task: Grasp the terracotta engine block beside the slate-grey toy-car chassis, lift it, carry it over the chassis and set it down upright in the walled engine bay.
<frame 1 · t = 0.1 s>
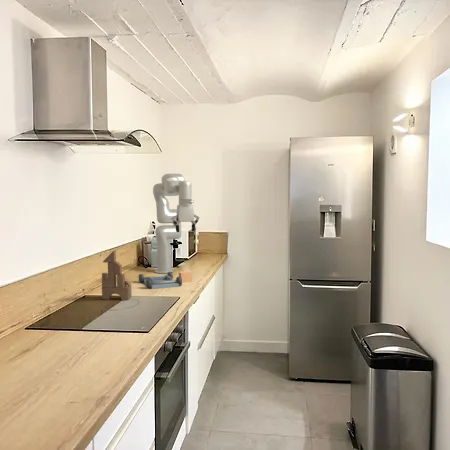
hand: (185, 231, 275), 31 cm above the worktop, fingers open, 9 cm apart
wooden toy: (115, 298, 241), on the worktop
chassis: (159, 283, 278), on the worktop
engine block: (185, 281, 285), on the worktop
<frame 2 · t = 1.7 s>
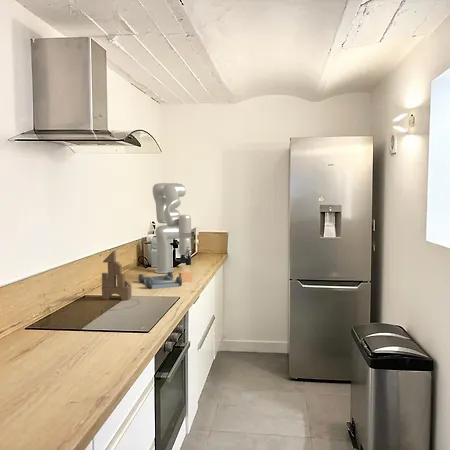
hand: (185, 264, 283), 11 cm above the worktop, fingers open, 9 cm apart
nothing on the worktop moved.
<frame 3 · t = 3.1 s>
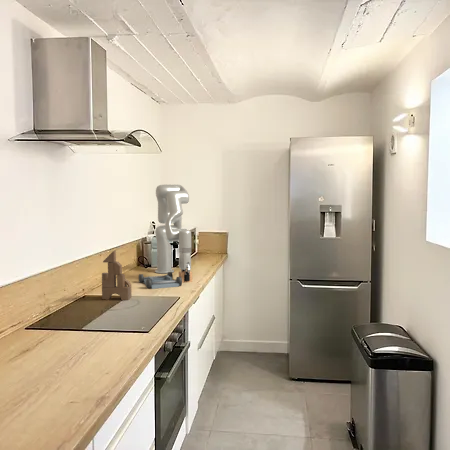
hand: (185, 280, 285), 1 cm above the worktop, fingers closed on engine block, 5 cm apart
engine block: (185, 281, 285), on the worktop, touching gripper
everything else where it was.
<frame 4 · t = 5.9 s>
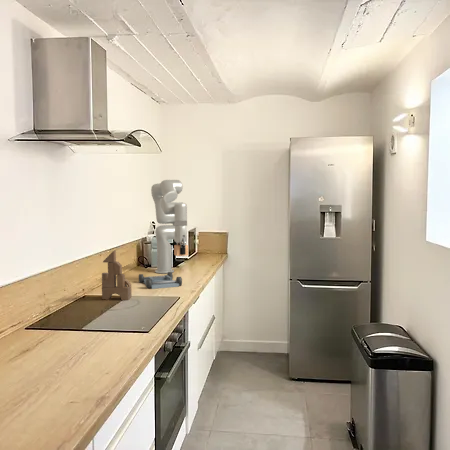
hand: (181, 253, 283), 17 cm above the worktop, fingers closed on engine block, 5 cm apart
engine block: (181, 255, 283), point 16 cm above the worktop, touching gripper
everything else where it was.
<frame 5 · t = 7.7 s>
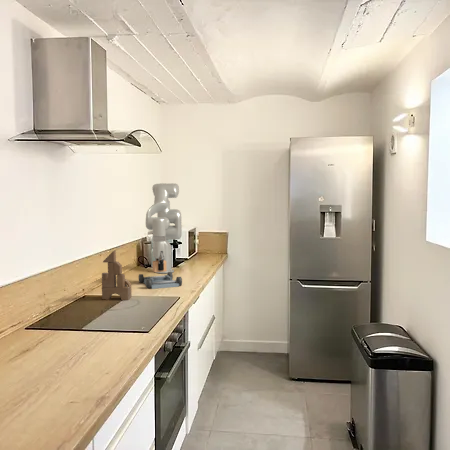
hand: (159, 269, 277), 9 cm above the worktop, fingers closed on engine block, 5 cm apart
engine block: (159, 271, 278), point 8 cm above the worktop, touching gripper
everything else where it was.
when the fingers open (4 cm above the worktop, at t = 9.0 s): engine block stays where it is, resting on chassis.
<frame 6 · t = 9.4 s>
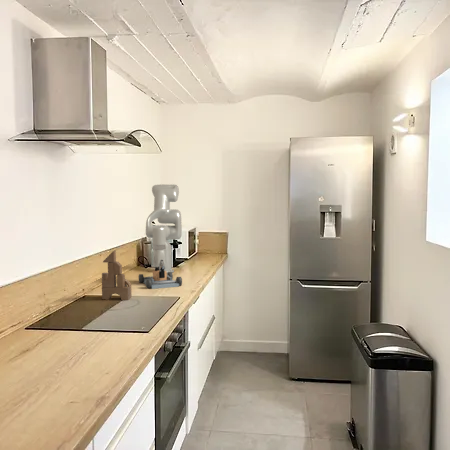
hand: (159, 276, 278), 4 cm above the worktop, fingers open, 8 cm apart
engine block: (159, 281, 278), point 1 cm above the worktop, touching chassis
everything else where it was.
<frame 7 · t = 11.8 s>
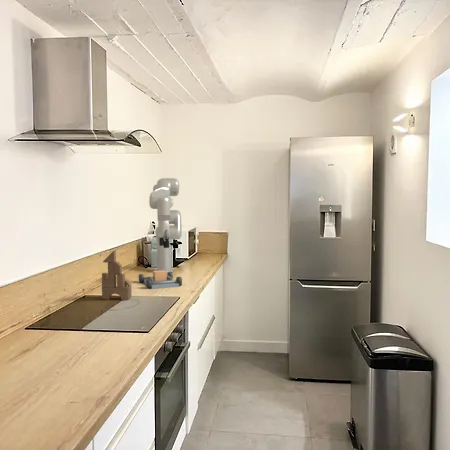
hand: (164, 246, 281), 22 cm above the worktop, fingers open, 9 cm apart
nothing on the worktop moved.
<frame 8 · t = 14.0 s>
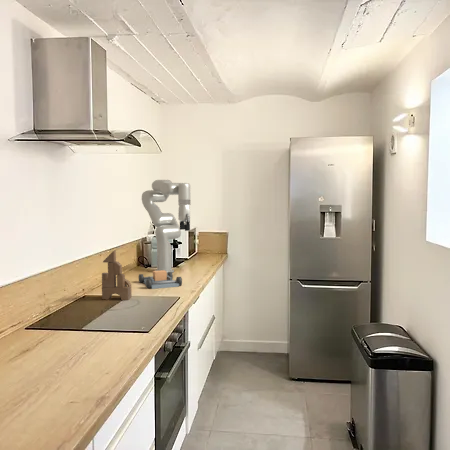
hand: (184, 230, 295), 30 cm above the worktop, fingers open, 9 cm apart
nothing on the worktop moved.
at the end: engine block 0.1 cm off-centre on the chassis, point 1.5 cm above the chassis's base; engine block tilted 0°; the gripper is holding nothing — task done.
